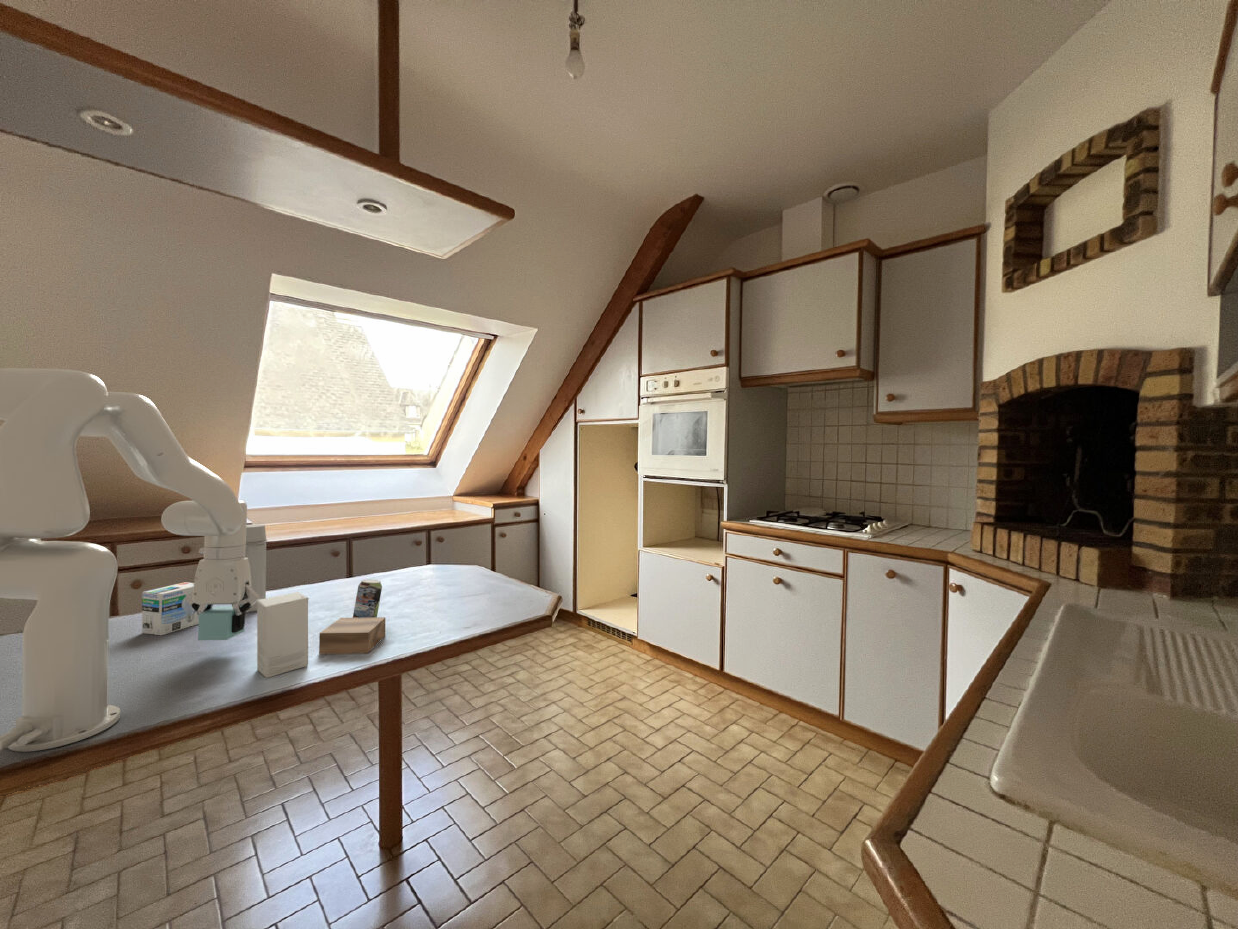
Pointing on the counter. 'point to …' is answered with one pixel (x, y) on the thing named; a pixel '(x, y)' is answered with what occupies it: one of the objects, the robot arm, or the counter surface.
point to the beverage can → (367, 599)
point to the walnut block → (352, 635)
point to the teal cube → (217, 624)
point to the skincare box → (282, 634)
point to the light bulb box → (168, 609)
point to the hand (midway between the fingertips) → (222, 630)
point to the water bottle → (256, 560)
